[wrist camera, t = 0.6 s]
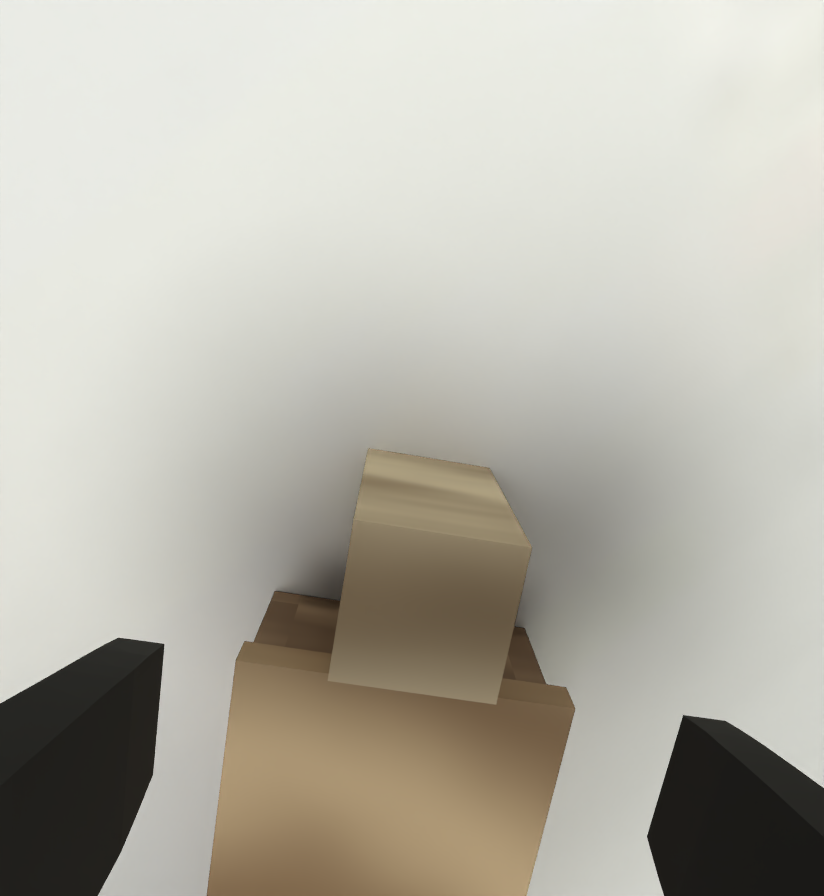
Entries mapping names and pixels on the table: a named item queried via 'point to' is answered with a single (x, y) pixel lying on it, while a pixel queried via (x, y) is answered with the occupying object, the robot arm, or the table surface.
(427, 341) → the table surface
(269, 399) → the table surface
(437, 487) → the tan wooden block
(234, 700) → the lid
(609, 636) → the table surface
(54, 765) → the robot arm
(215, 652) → the table surface
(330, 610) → the wooden box
